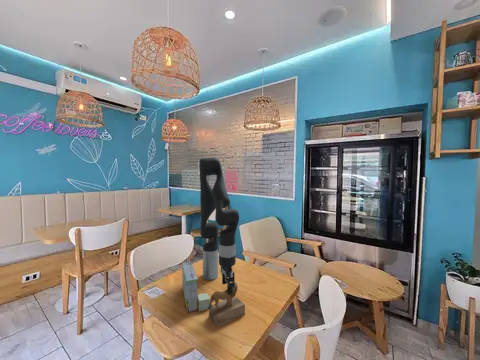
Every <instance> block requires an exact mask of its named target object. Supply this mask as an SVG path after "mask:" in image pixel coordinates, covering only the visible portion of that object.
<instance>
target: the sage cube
mask: <svg viewBox="0 0 480 360" xmlns="http://www.w3.org/2000/svg"><path fill="white" fill-rule="evenodd" d="M210 299H211V297H210V296H209V293H208V292H206V293H201V294H200V293H199V294H198V312H201V311H206V310H209V309H208V307H209V304H210Z"/></svg>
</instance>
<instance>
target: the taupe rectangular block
mask: <svg viewBox="0 0 480 360" xmlns="http://www.w3.org/2000/svg"><path fill="white" fill-rule="evenodd" d="M231 304H233V306H230V304H229V303H227V299H226V300H221V301H219V302H218V307H220V309H217V308H216V306H215V303H214V304H212V305H213V306H212V307H210V308H209V309H208V318H210V320H212V322H213V323H214V324H215V326H216V327H217V328H219V327H222V326H224V325H226V324H229V322H231V321H233V320H236V319H238V318H240V317H242V316H244V315H245V314H246V312H245V311H246V304H245V303H244V302H243V301H242V300H240V299H239V298H238V297H237V296H236V295H235V296H234V297H233V298H232V303H231Z"/></svg>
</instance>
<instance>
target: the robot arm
mask: <svg viewBox="0 0 480 360" xmlns="http://www.w3.org/2000/svg"><path fill="white" fill-rule="evenodd" d="M198 169H199V170H198V171H199V183H200V186H199V187H200V194H199V195H200V197H199V198H200V200H199V202H200V229H199V230H200V237H201V238H202V239H211V240H209V241H207V242H205V243H203V246H202V278H203V279H204V280H206V281H211V280H216V279H217V278H218V277H219V266H220V273H221V283H222V285H227V286H226V290H227V294H228V295H229V294H232V293H233V286H235V281H236V280H235V271H234V270H233V266H235V265H236V258H237V256H236V251H237V250H236V249H237V248H236V232H237V228H238V226H239V225H238V224H239V223H240V222H239V221H240V213H239V211H238V210H237V209H236V208H228V207H229V206H230V205H231V200H230V197H229V195H228V191H227V188H226V184H225V178H224V173H223V168H222V163H221V161H220V159H219V158H218V157H207V158H206V157H204V158H200V159H199V162H198ZM208 176H209V177H210V176H216V180H215V183H214V185H213V187H211V184H210V183H209V182H208V179H207V177H208ZM214 212H215V214H214V215H215V218H214V219H215V222H208V220H209V218H210V216H211V215H212V214H213V213H214ZM219 226H221V227H223V226H227V227H226V228H224V229H222V230H221V231H220V232H219Z"/></svg>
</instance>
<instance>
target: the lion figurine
mask: <svg viewBox="0 0 480 360" xmlns="http://www.w3.org/2000/svg"><path fill="white" fill-rule="evenodd" d="M238 288H239V287H238V283H237V282H235V286H233V293H232V294H229V295H228V294H227V289H226V290H223V291H217V290H216V291H214V292H213V293H211V296H210V304H209V307H208V309H207V310H209V308H210V307H212V306H213V305H214V304H215V306H216V308H217V309H220V307H218V303H219V302H220V301H219V300H221V301H223V300H226V299H227V303H229V304H230V306H233V304H231V303H232V298H233V297H234V296H236V294H237V292H238ZM213 302H214V304H213Z"/></svg>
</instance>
